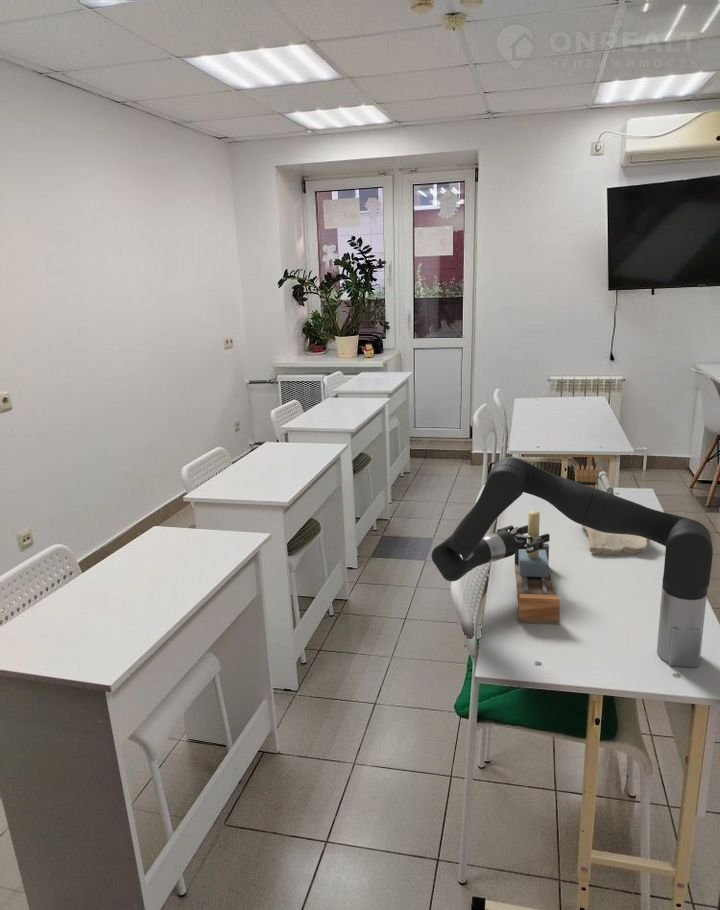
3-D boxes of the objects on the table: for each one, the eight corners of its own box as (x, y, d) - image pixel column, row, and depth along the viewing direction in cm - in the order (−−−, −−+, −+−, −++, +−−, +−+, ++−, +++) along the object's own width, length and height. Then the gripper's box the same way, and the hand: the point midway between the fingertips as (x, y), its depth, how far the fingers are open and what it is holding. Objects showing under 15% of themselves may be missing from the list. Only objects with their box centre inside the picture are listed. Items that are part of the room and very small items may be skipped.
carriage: (548, 577, 187) (549, 519, 181) (519, 576, 188) (520, 519, 183) (545, 561, 196) (546, 506, 191) (518, 561, 198) (519, 506, 192)
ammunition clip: (602, 493, 255) (604, 464, 252) (602, 495, 254) (604, 466, 250) (574, 491, 259) (575, 463, 256) (574, 493, 257) (575, 465, 254)
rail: (558, 624, 168) (559, 599, 165) (519, 623, 170) (519, 597, 167) (547, 565, 199) (548, 543, 197) (514, 564, 201) (514, 542, 199)
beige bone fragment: (636, 529, 224) (577, 523, 227) (640, 510, 221) (580, 504, 225) (653, 563, 201) (586, 555, 204) (657, 541, 199) (590, 534, 202)
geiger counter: (619, 488, 221) (607, 466, 244) (599, 488, 222) (590, 466, 245) (616, 526, 225) (605, 500, 248) (597, 525, 226) (588, 500, 249)
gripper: (513, 543, 175) (557, 528, 183) (479, 526, 187) (522, 513, 195) (512, 568, 177) (556, 552, 185) (479, 550, 190) (521, 536, 197)
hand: (538, 532), depth 190 cm, fingers open, 7 cm apart
